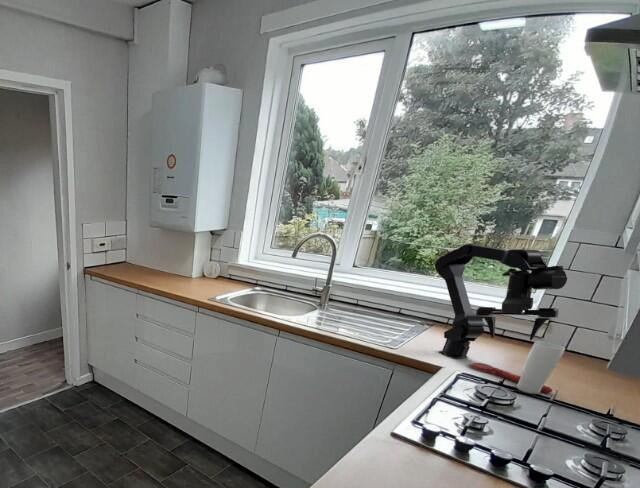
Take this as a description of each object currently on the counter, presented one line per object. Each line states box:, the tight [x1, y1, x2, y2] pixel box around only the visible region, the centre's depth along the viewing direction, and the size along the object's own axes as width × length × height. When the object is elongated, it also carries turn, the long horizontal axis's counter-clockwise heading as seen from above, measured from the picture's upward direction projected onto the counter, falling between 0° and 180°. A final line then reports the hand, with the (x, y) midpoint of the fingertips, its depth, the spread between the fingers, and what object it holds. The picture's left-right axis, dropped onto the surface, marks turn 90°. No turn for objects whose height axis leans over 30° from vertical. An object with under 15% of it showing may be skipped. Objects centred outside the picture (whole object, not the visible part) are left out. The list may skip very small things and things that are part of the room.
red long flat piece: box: [470, 362, 553, 394], centre depth 132 cm, size 22×6×2 cm, turn 17°
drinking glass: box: [516, 340, 566, 395], centre depth 122 cm, size 7×7×15 cm
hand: (511, 339), depth 132 cm, fingers open, 9 cm apart
